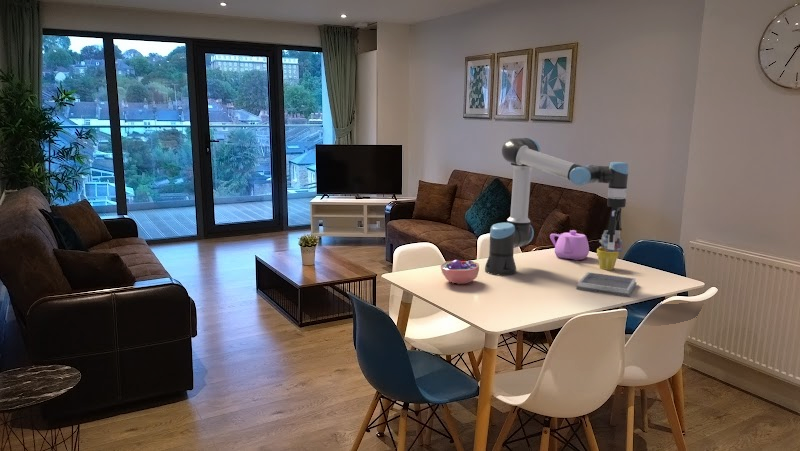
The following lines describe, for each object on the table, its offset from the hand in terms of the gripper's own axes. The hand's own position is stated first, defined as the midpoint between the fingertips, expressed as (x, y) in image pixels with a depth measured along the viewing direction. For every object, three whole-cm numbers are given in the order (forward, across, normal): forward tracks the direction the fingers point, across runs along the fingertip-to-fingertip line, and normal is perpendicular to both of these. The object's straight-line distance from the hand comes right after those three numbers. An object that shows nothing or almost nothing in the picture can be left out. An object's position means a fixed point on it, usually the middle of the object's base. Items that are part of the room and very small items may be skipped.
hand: (613, 247), depth 250 cm
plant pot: (+18, +35, +8) cm, 40 cm away
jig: (+18, 0, +1) cm, 18 cm away
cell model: (+18, -30, +60) cm, 70 cm away
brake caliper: (+2, 0, +1) cm, 2 cm away
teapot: (+18, +49, +29) cm, 59 cm away
